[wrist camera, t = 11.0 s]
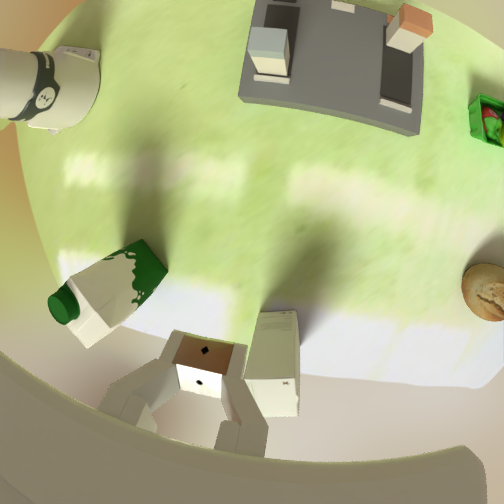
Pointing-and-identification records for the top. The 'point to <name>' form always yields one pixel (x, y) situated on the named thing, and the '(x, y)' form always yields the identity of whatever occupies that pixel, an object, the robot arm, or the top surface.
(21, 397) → the robot arm
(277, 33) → the switch
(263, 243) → the top surface
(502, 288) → the bread roll
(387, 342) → the top surface
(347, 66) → the console
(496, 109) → the fruit basket
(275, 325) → the skincare box
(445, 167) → the top surface
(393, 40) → the switch
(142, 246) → the milk carton
